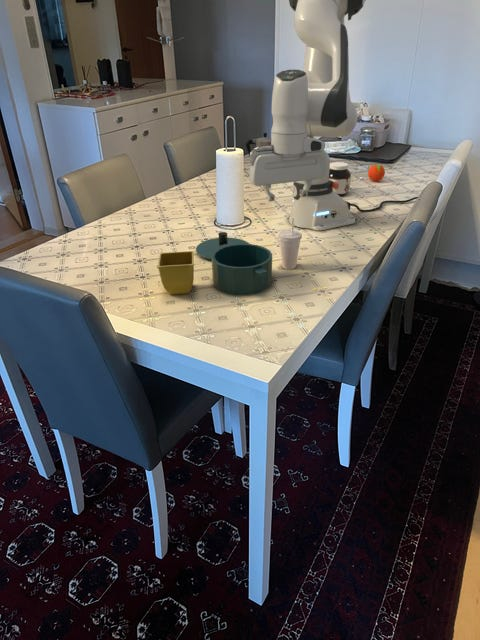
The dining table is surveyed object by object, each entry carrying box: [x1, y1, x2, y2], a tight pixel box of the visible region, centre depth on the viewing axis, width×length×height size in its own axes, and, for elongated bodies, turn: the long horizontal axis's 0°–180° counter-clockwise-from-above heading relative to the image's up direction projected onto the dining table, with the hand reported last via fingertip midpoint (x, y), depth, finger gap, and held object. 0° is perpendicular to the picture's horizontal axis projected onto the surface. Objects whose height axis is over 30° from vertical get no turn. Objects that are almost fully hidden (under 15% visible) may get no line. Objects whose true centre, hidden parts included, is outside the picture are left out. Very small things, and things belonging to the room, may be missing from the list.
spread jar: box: [329, 161, 352, 198], centre depth 193 cm, size 12×11×12 cm
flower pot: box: [157, 250, 195, 295], centre depth 125 cm, size 9×9×9 cm
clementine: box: [367, 164, 386, 182], centre depth 207 cm, size 8×7×7 cm
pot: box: [211, 243, 273, 296], centre depth 129 cm, size 16×21×8 cm
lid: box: [195, 231, 250, 261], centre depth 147 cm, size 17×17×6 cm
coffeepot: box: [245, 132, 271, 158], centre depth 218 cm, size 15×9×18 cm, turn 103°
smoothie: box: [277, 218, 303, 270], centre depth 135 cm, size 6×6×14 cm
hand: (287, 198), depth 129 cm, fingers open, 8 cm apart
